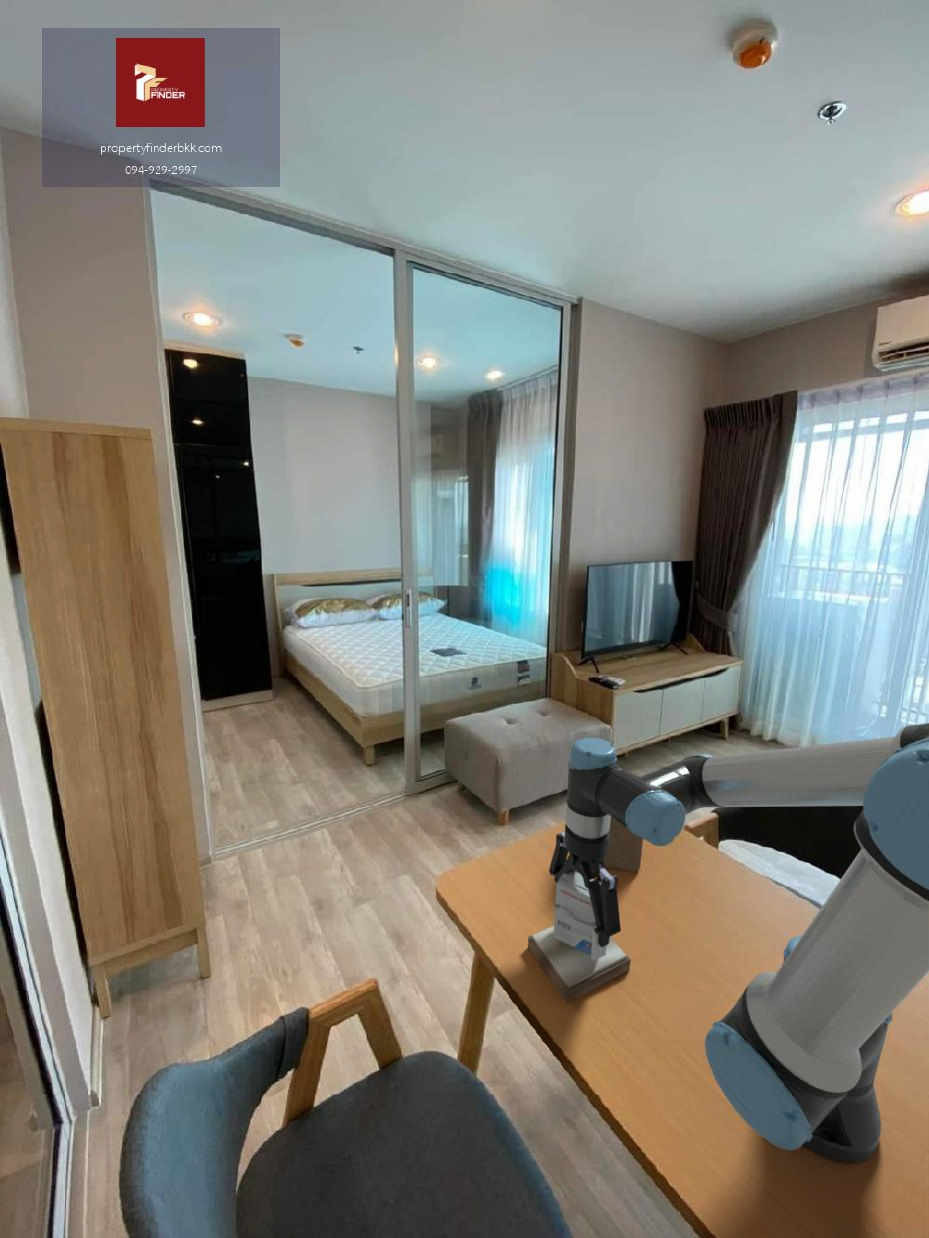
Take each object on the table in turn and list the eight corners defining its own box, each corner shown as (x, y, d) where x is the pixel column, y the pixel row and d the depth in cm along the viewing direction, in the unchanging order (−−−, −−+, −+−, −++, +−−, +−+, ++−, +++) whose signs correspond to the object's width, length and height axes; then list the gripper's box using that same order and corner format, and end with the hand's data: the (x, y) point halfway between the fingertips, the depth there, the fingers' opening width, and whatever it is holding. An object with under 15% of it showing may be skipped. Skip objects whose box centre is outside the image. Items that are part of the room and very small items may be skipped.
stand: (629, 970, 89) (630, 956, 89) (567, 1003, 83) (568, 988, 83) (586, 921, 100) (586, 908, 99) (527, 947, 94) (528, 934, 93)
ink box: (606, 939, 90) (611, 884, 88) (598, 960, 86) (602, 903, 84) (562, 919, 95) (565, 866, 92) (552, 937, 91) (555, 882, 88)
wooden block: (640, 874, 113) (648, 796, 108) (595, 867, 115) (601, 790, 110) (634, 845, 122) (642, 772, 118) (593, 840, 124) (598, 768, 120)
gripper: (652, 859, 77) (640, 976, 82) (565, 788, 97) (559, 886, 102) (616, 874, 74) (605, 995, 79) (533, 798, 93) (528, 898, 98)
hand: (579, 934), depth 90 cm, fingers closed on ink box, 9 cm apart
